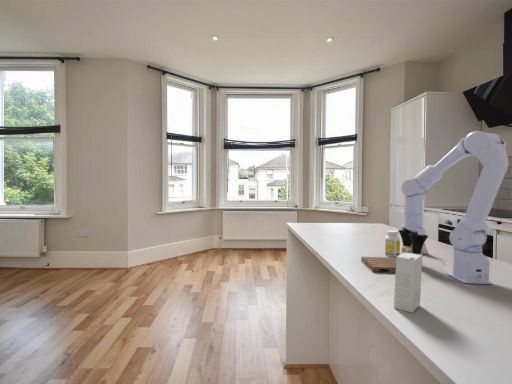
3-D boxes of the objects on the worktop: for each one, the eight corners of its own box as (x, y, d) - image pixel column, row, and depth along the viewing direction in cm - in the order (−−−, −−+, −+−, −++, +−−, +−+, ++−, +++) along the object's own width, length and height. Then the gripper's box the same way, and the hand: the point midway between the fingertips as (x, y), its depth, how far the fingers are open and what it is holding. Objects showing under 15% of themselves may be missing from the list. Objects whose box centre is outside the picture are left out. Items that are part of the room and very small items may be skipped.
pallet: (411, 273, 98) (411, 268, 98) (373, 272, 99) (373, 266, 99) (394, 262, 112) (395, 257, 112) (361, 261, 113) (361, 256, 113)
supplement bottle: (396, 254, 125) (397, 230, 125) (401, 257, 120) (402, 232, 120) (383, 253, 126) (383, 229, 126) (387, 256, 121) (388, 232, 120)
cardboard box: (422, 266, 107) (422, 249, 107) (407, 266, 107) (407, 249, 107) (415, 262, 112) (416, 246, 112) (401, 262, 113) (401, 246, 112)
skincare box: (401, 300, 75) (402, 251, 75) (421, 305, 72) (423, 254, 72) (392, 308, 71) (394, 256, 70) (414, 314, 68) (416, 259, 67)
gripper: (393, 211, 117) (392, 247, 117) (410, 215, 102) (408, 256, 103) (412, 211, 116) (411, 247, 117) (432, 216, 102) (430, 257, 102)
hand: (411, 251), depth 110 cm, fingers open, 7 cm apart
